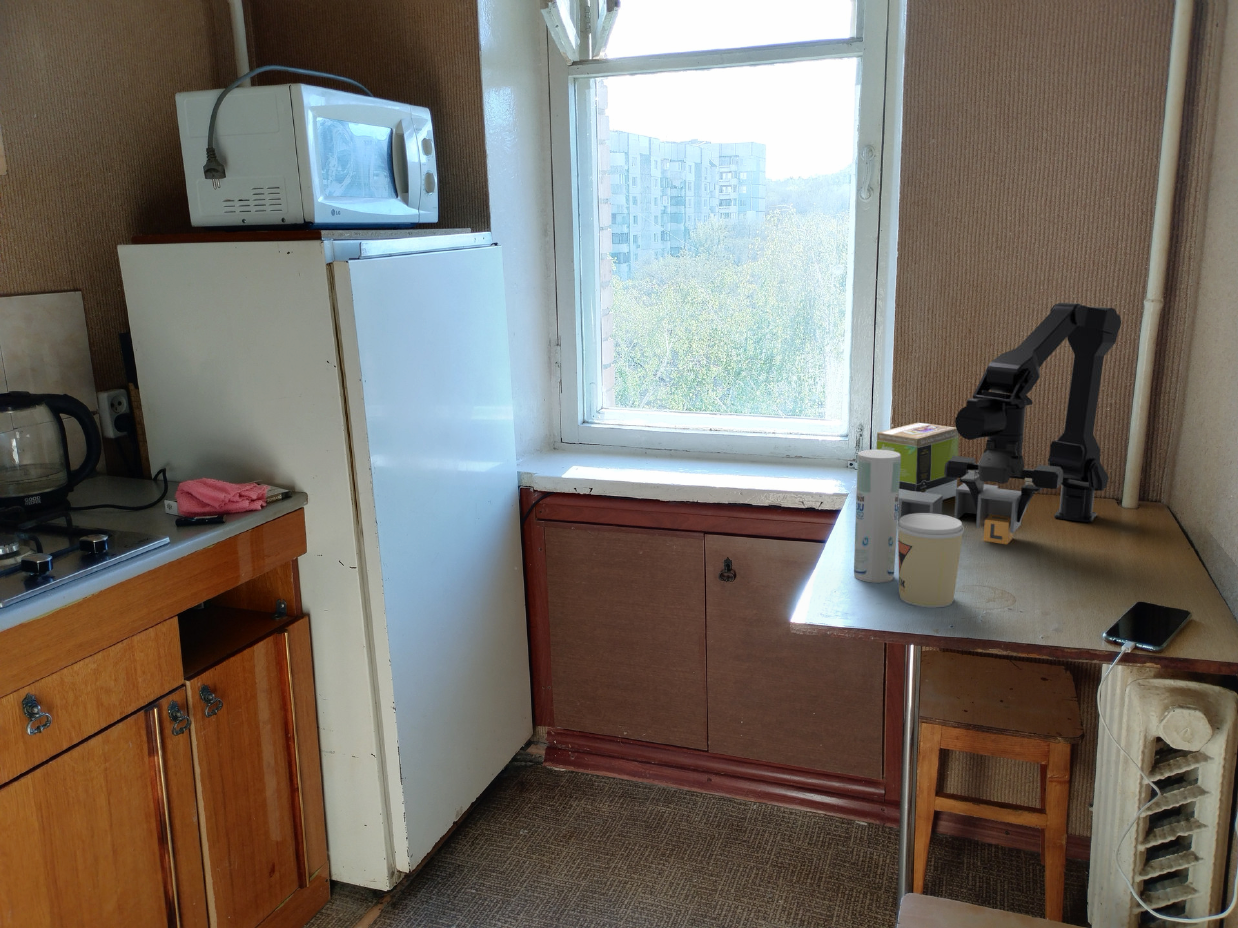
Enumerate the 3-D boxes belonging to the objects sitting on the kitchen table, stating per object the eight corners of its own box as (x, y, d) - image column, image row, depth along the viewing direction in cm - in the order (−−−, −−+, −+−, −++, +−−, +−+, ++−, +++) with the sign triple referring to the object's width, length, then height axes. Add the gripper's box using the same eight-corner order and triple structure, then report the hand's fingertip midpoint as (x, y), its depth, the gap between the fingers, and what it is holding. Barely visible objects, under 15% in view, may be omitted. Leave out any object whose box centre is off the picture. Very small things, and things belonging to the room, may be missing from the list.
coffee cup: (897, 584, 150) (900, 510, 148) (960, 591, 147) (965, 515, 144) (890, 605, 142) (894, 526, 139) (957, 613, 139) (963, 532, 136)
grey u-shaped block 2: (908, 521, 184) (909, 490, 182) (941, 526, 180) (942, 494, 179) (897, 529, 179) (898, 498, 177) (931, 534, 175) (932, 502, 174)
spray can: (898, 583, 151) (904, 458, 146) (855, 582, 151) (860, 458, 147) (890, 569, 157) (896, 449, 153) (850, 569, 158) (854, 449, 153)
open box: (963, 511, 190) (964, 481, 188) (995, 516, 186) (998, 485, 185) (954, 519, 185) (956, 488, 183) (987, 523, 181) (990, 493, 180)
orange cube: (989, 535, 175) (990, 513, 174) (1012, 538, 172) (1014, 516, 171) (983, 541, 171) (984, 519, 170) (1006, 544, 169) (1008, 522, 168)
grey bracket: (985, 519, 175) (987, 487, 174) (1021, 524, 172) (1023, 491, 171) (976, 527, 170) (978, 494, 169) (1013, 533, 167) (1015, 499, 166)
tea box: (915, 488, 208) (919, 420, 205) (957, 497, 200) (962, 427, 197) (872, 500, 199) (876, 430, 195) (915, 510, 191) (919, 437, 188)
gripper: (937, 435, 166) (932, 522, 170) (1054, 446, 156) (1046, 539, 159) (955, 424, 175) (950, 507, 179) (1067, 434, 165) (1059, 522, 168)
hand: (999, 519), depth 171 cm, fingers closed on grey bracket, 6 cm apart
